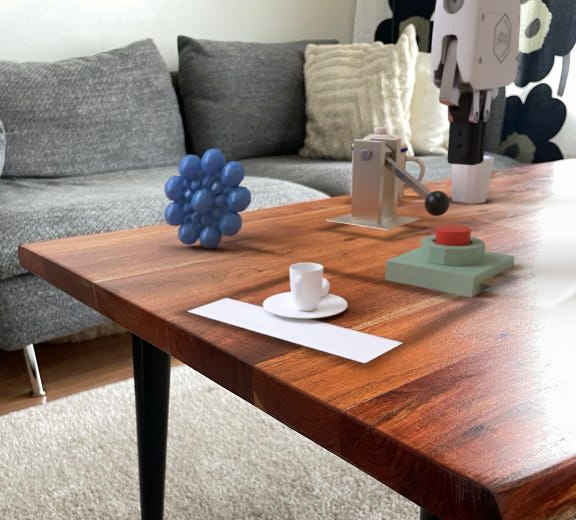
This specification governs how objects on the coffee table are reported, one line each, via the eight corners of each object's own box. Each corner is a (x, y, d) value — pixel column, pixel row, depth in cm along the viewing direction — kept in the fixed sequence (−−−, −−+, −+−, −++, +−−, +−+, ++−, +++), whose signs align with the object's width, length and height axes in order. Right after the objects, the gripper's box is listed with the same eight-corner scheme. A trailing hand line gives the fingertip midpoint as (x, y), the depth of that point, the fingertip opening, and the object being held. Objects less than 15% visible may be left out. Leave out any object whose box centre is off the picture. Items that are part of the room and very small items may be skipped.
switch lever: (445, 219, 95) (458, 199, 93) (433, 223, 93) (447, 202, 91) (370, 156, 99) (381, 135, 97) (357, 158, 97) (368, 137, 95)
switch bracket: (420, 227, 101) (427, 138, 96) (387, 238, 94) (392, 144, 90) (361, 218, 107) (364, 134, 102) (325, 228, 100) (327, 139, 95)
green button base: (512, 275, 78) (517, 239, 76) (471, 297, 71) (476, 258, 69) (429, 261, 84) (432, 227, 82) (384, 280, 77) (386, 243, 75)
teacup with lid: (345, 205, 116) (347, 129, 111) (353, 196, 124) (356, 124, 119) (420, 208, 113) (426, 130, 108) (424, 198, 121) (430, 125, 116)
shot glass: (444, 196, 123) (448, 154, 120) (485, 196, 123) (489, 154, 120) (451, 204, 117) (455, 159, 114) (493, 204, 117) (499, 159, 114)
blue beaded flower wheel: (264, 244, 92) (263, 146, 87) (244, 257, 86) (241, 152, 81) (182, 237, 95) (177, 142, 90) (157, 249, 89) (150, 148, 84)
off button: (475, 244, 76) (477, 227, 75) (460, 250, 74) (461, 233, 73) (444, 239, 78) (446, 223, 77) (428, 245, 76) (430, 228, 75)
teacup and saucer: (303, 289, 73) (303, 250, 72) (368, 304, 69) (370, 263, 67) (245, 311, 67) (244, 268, 66) (312, 329, 63) (313, 284, 61)
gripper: (484, -58, 58) (466, 176, 66) (551, -44, 68) (529, 156, 76) (402, -49, 62) (395, 170, 70) (477, -37, 73) (463, 152, 80)
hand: (465, 163), depth 73 cm, fingers closed
